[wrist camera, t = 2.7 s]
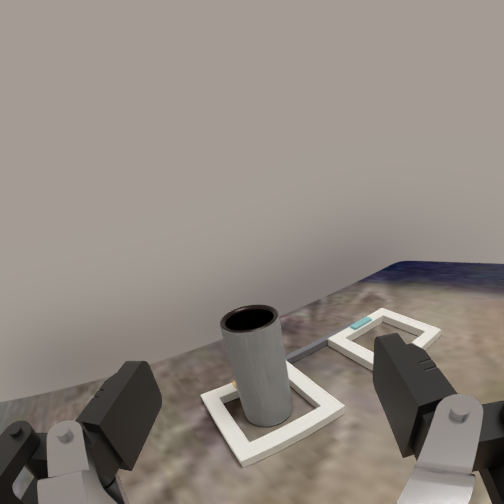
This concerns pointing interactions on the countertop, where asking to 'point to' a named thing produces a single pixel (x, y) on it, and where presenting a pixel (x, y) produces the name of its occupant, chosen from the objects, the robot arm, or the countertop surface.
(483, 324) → the countertop surface
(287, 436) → the socket
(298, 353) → the thin gray bar
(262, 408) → the planter
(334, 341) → the socket
